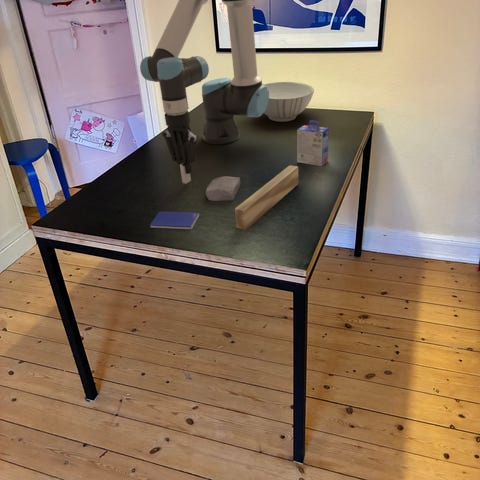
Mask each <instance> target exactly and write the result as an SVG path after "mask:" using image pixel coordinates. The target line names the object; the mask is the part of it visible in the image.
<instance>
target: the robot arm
mask: <svg viewBox="0 0 480 480" xmlns="http://www.w3.org/2000/svg"><path fill="white" fill-rule="evenodd" d="M208 1H209V0H178V2H177V4H176V6H175V8H174V10H173V12H172V14H171V16H170V18H169V20H168V22H167V25H166V27H165V29H164V31H163V32H162V35H161V37H160V40H159V42H158V43H157V46H156V48H155V50H154V51H153V54H152V56H151V55H149V56H145V57H144V58H142V59H141V61H140V66H139V69H140V70H139V71H140V74H141V76H142V77H143V78H144V80H146V81H150V82H155V83H159V89H160V93H161V95H160V96H161V100H162V101H161V102H162V107H163V112H164V120H165V124H166V125H165V126H166V127H167V128H166V129H167V130H165V131H164V132H162V136H163V138H164V140H165V141H166V144H167V148H168V150H169V154H170V156H171V160H172V161H173V162H176V163H177V165H178V171H179V173H180V176H181V181H182V184H186V185H187V184H188V183H189V182H191V181H192V179H191V173H192V168H191V164H192V163H194V162H195V161H196V148H197V140H198V138H199V136H198V134H194V133H193V132H192V130H191V127H190V125H191V124H190V123H191V119H190V118H191V117H190V112H189V104H188V103H189V102H188V96H187V90H186V89H187V88H188V87H190V86H193V85H195V84H198V83H201V82H202V81H203V80H205V79H206V78H207V77H208V74H209V72H210V71H209V70H210V69H209V67H210V66H209V64H208V62H207V60H206V59H205V58H204V57H202V56H199V55H195V56H191V57H189V58H183V57H182V58H180V57H179V56H180V54H181V51H182V49H183V48H184V45H185V43H186V41H187V39H188V37H189V35H190V33H191V31H192V28H193V26H194V24H195V22H196V19H197V18H198V15H199V13H200V11H201V10H202V7H203V6H204V5H206V4H207V3H208ZM254 1H255V0H221V2H222V3H223V4H224V5H225V6H226V10H227V20H228V30H229V39H230V40H229V41H230V48H231V57H232V58H231V59H232V69H233V78H232V79H231V78H229V77H221V78H216V79H212V80H208V81H205V82H204V83H203V84H202V85H201V97H202V104H203V110H204V111H203V113H204V127H203V132H202V140H203V142H205V143H206V144H210V145H225V144H230V143H233V142H236V141H237V140H239V139H240V137H241V136H240V133H241V131H240V129H239V128H238V124H237V122H236V121H235V116H240V117H247V118H259V117H261V116H262V115H263V114H264V112H265V110H266V107H267V105H268V101H269V90H268V88H267V87H266V86H264V85H262V84H263V80H262V77H261V76H260V75H258V69H257V68H258V67H257V65H258V63H257V54H256V43H255V42H256V41H255V28H254V16H253V15H254V13H253V2H254Z"/></svg>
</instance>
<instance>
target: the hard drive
mask: <svg viewBox="0 0 480 480" xmlns="http://www.w3.org/2000/svg"><path fill="white" fill-rule="evenodd" d="M199 216H200V213H199V212H183V211H181V212H180V211H179V212H178V211H159V212H157V214H156V216H155V217H154V218H153V220H152V221H151V223H150V225H149V226H150V228H155V229H156V228H157V229H160V228H161V229H180V230H181V229H183V230H193V227H194V226H195V224H196V222H197V220H198V218H199Z"/></svg>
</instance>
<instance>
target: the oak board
mask: <svg viewBox="0 0 480 480" xmlns="http://www.w3.org/2000/svg"><path fill="white" fill-rule="evenodd" d="M298 185H299V166H296V165H291V164H290V165H288V166H287V167H286V168H284V169H283V170H281V172H279V173H278V174H277V175H275V176H274V177H273V178H272V179H271V180H270V181H268V182H267V183H265V184H264V185H262V187H260V188H259V189H257V191H255V192H254V193H253V194H251V195H250V196H249V197H248V198H246V199H244V201H243V202H241V203H240V204H239V205H238V206H236V207H235V208H234V215H235V223H236V224H235V225H236V226H235V227H236V228H237V229H240V230H243V231H246V230H247V229H248V228H251V226H252V225H253V224H254V223H256V221H258V220H259V219H260V218H261V217H262V216H264V214H266V213H267V212H268V211H269V210H271V209H272V208H273V207H274V206H275V205H276V204H277V203H278V202H279V201H280V200H283V198H284V197H285V196H286V195H288V193H290V192H291V191H292V190H293V189H295V187H296V186H298Z"/></svg>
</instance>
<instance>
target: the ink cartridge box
mask: <svg viewBox="0 0 480 480" xmlns="http://www.w3.org/2000/svg"><path fill="white" fill-rule="evenodd" d="M320 122H321V121H320V120H313V119H309V123H308V125H302V126H301V127H299V128H297V130H296V142H297V143H296V147H297V148H296V152H297V153H296V162H297V163H301V164H305V165H312V166H318V167H323V166H324V165H325V164H327V163H328V162H329V137H330V136H329V135H330V134H329V131H330V129H329V127H321V126H320ZM314 123H315V124H314Z"/></svg>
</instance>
